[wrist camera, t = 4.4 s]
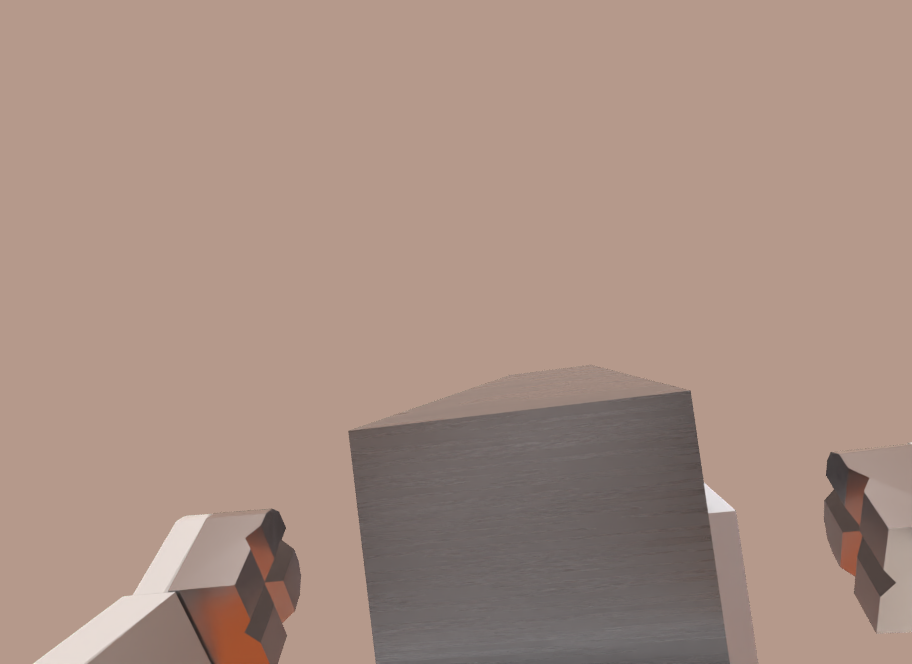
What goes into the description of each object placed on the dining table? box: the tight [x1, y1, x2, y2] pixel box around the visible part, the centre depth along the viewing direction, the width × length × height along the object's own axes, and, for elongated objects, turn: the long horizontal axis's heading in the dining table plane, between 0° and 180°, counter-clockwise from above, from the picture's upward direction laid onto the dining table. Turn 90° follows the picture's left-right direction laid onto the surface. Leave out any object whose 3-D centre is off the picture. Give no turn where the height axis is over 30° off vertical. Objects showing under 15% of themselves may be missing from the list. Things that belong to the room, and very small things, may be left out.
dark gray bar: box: [349, 365, 730, 664], centre depth 19 cm, size 4×24×4 cm, turn 171°
